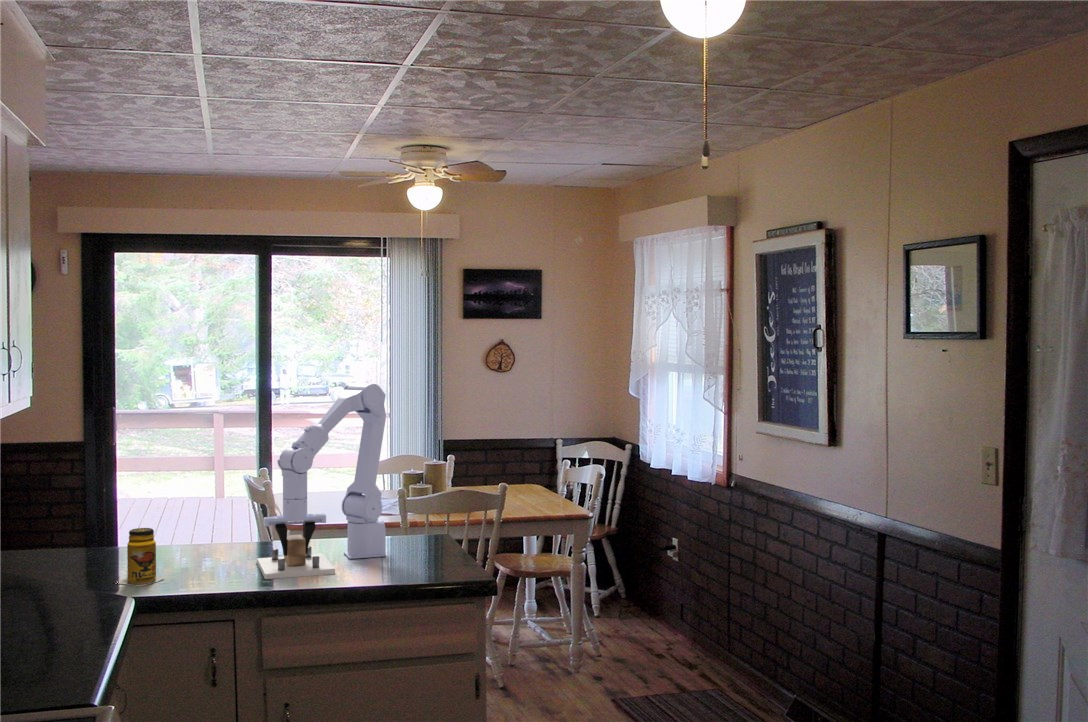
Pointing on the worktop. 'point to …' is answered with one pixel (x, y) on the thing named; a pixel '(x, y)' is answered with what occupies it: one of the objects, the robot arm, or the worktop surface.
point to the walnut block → (296, 550)
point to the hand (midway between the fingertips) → (295, 554)
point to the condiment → (141, 558)
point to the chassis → (294, 566)
